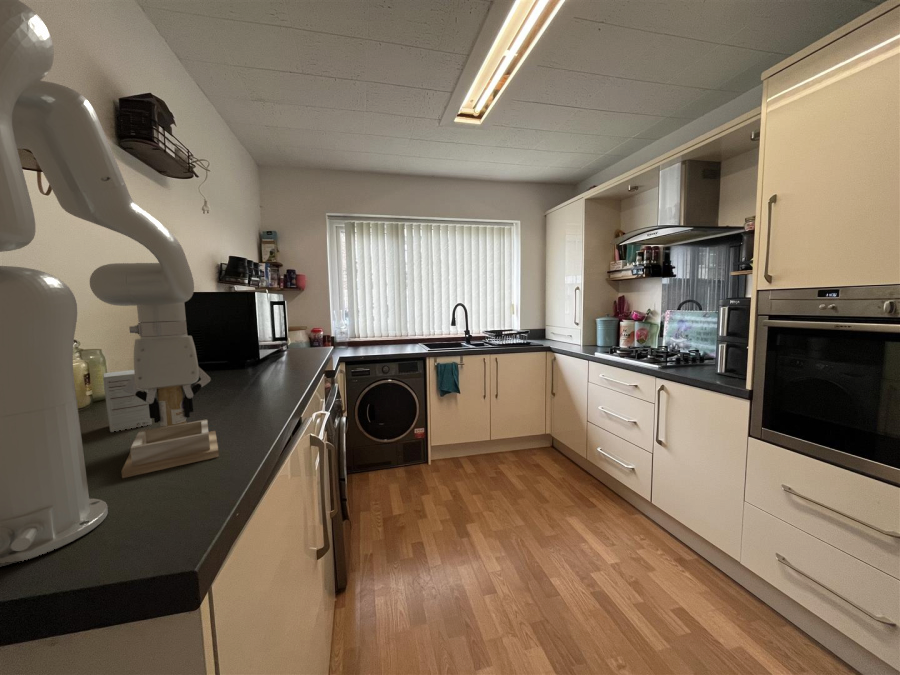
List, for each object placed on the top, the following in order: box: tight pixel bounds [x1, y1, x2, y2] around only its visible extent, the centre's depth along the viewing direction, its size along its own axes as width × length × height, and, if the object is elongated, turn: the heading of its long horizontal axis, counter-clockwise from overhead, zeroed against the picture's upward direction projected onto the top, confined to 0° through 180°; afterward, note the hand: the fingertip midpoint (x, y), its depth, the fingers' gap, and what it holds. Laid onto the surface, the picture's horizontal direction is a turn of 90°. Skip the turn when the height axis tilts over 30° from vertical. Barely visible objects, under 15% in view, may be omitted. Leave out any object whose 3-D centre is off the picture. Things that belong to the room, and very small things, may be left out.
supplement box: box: [102, 369, 152, 433], centre depth 84 cm, size 7×7×13 cm
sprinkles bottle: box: [156, 386, 187, 427], centre depth 74 cm, size 5×5×14 cm
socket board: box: [121, 419, 220, 479], centre depth 66 cm, size 13×13×4 cm
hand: (172, 417), depth 75 cm, fingers closed on sprinkles bottle, 4 cm apart
